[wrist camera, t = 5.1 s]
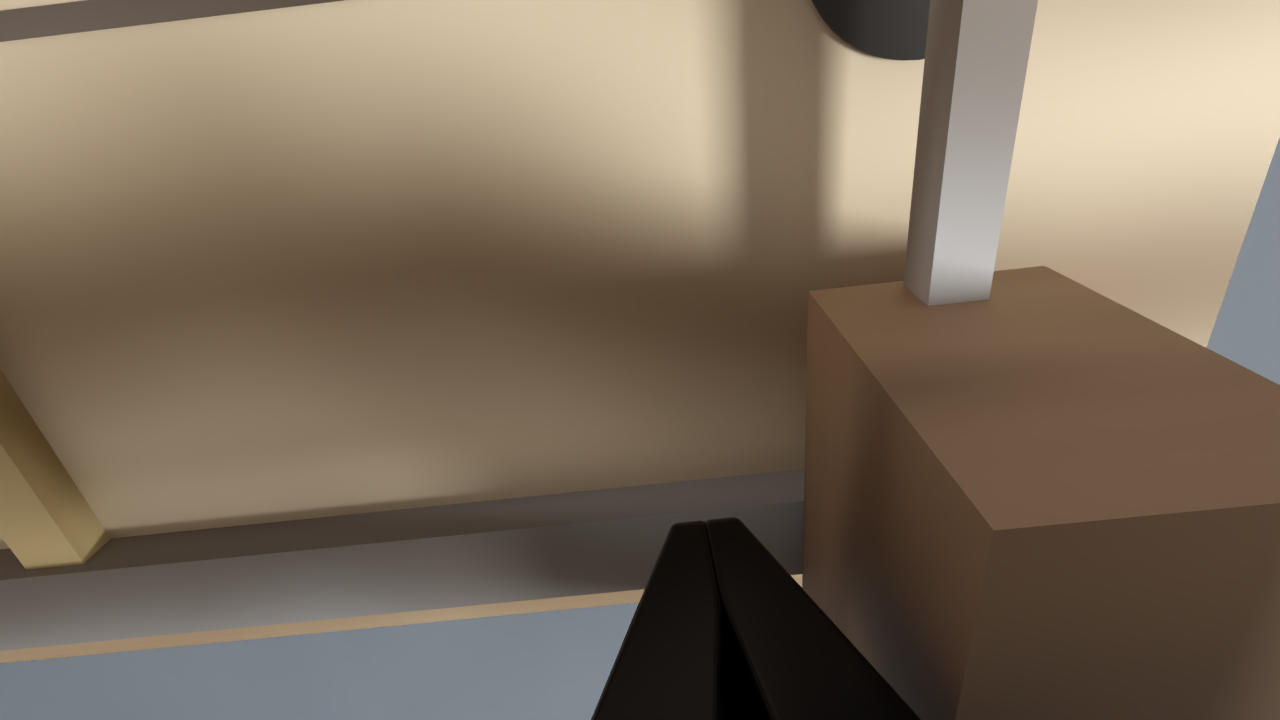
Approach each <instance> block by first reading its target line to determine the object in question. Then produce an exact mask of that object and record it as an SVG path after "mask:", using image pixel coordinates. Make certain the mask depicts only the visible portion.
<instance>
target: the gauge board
mask: <svg viewBox="0 0 1280 720" xmlns="http://www.w3.org/2000/svg"><path fill="white" fill-rule="evenodd" d="M929 8H930V0H0V663H8V662H18V661H28V660H39V659H49V658H60V657H70V656H81V655H91V654H102V653H112V652H123V651H133V650H144V649H154V648H165V647H175V646H186V645H196V644H207V643H217V642H228V641H238V640H249V639H259V638H270V637H280V636H291V635H301V634H312V633H322V632H333V631H343V630H354V629H364V628H375V627H385V626H396V625H406V624H417V623H427V622H438V621H448V620H459V619H469V618H480V617H490V616H501V615H511V614H522V613H532V612H543V611H553V610H564V609H574V608H585V607H595V606H606V605H616V604H627V603H637V602H640V600H641V597H642V595H643V592H644V590H645V587H646V585H647V583H648V580H649V578H650V575H651V573H652V570H653V568H654V565H655V563H656V561H657V558H658V556H659V553H660V551H661V548H662V546H663V544H664V541H665V539H666V536H667V534H668V531H669V529H670V527H671V526H672V525H673V524H674V523H678V522H688V521H697V520H702V521H704V522H705V521H707V520H709V519H717V518H727V517H736V518H738V519H740V520H741V521H742V522H743V523H744V524H745V525H746V527H747V528H748V529H749V530H750V531H751V532H752V533H753V534H754V535H755V536H756V538H757V539H758V540H759V541H760V542H761V543H762V544H763V545H764V546H765V548H766V549H767V550H768V551H769V552H770V553H771V554H772V555H773V556H774V557H775V559H776V560H777V561H778V562H779V563H780V564H781V565H782V566H783V567H784V568H785V570H786V571H787V572H788V573H789V574H790V575H791V576H792V577H793V578H794V580H795V581H796V582H797V583H798V584H799V585H800V586H801V587H802V572H803V524H804V476H805V428H806V380H807V333H808V291H813V290H822V289H832V288H841V287H850V286H860V285H869V284H878V283H888V282H897V281H904V272H905V261H906V251H907V240H908V230H909V219H910V208H911V198H912V187H913V177H914V166H915V156H916V145H917V135H918V124H919V113H920V103H921V92H922V82H923V71H924V61H925V50H926V40H927V29H928V18H929ZM1279 137H1280V0H1038V4H1037V10H1036V16H1035V22H1034V28H1033V34H1032V40H1031V47H1030V53H1029V59H1028V65H1027V71H1026V77H1025V83H1024V89H1023V96H1022V102H1021V108H1020V114H1019V120H1018V126H1017V132H1016V138H1015V144H1014V151H1013V157H1012V163H1011V169H1010V175H1009V181H1008V187H1007V193H1006V199H1005V206H1004V212H1003V218H1002V224H1001V230H1000V236H999V242H998V248H997V254H996V261H995V267H994V271H1000V270H1009V269H1019V268H1028V267H1037V266H1046V267H1048V268H1050V269H1052V270H1054V271H1056V272H1058V273H1060V274H1062V275H1064V276H1066V277H1068V278H1070V279H1072V280H1074V281H1076V282H1078V283H1080V284H1082V285H1084V286H1085V287H1087V288H1089V289H1091V290H1093V291H1095V292H1097V293H1099V294H1101V295H1103V296H1105V297H1107V298H1109V299H1111V300H1113V301H1115V302H1117V303H1119V304H1121V305H1123V306H1125V307H1127V308H1129V309H1131V310H1133V311H1135V312H1137V313H1139V314H1141V315H1142V316H1144V317H1146V318H1148V319H1150V320H1152V321H1154V322H1156V323H1158V324H1160V325H1162V326H1164V327H1166V328H1168V329H1170V330H1172V331H1174V332H1176V333H1178V334H1180V335H1182V336H1184V337H1186V338H1188V339H1190V340H1192V341H1194V342H1196V343H1198V344H1199V345H1201V346H1203V347H1205V348H1206V347H1207V344H1208V341H1209V338H1210V335H1211V333H1212V330H1213V327H1214V324H1215V321H1216V318H1217V315H1218V312H1219V310H1220V307H1221V304H1222V301H1223V298H1224V295H1225V292H1226V289H1227V287H1228V284H1229V281H1230V278H1231V275H1232V272H1233V269H1234V266H1235V264H1236V261H1237V258H1238V255H1239V252H1240V249H1241V246H1242V243H1243V241H1244V238H1245V235H1246V232H1247V229H1248V226H1249V223H1250V220H1251V218H1252V215H1253V212H1254V209H1255V206H1256V203H1257V200H1258V197H1259V195H1260V192H1261V189H1262V186H1263V183H1264V180H1265V177H1266V174H1267V172H1268V169H1269V166H1270V163H1271V160H1272V157H1273V154H1274V151H1275V149H1276V146H1277V143H1278V140H1279Z"/></svg>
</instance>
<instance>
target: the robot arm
mask: <svg viewBox="0 0 1280 720" xmlns="http://www.w3.org/2000/svg"><path fill="white" fill-rule="evenodd" d="M591 720H921V719H920V718H919V717H918V715H917V714H916V713H915V712H914V711H913V710H912V709H911V708H910V707H909V705H908V704H907V703H906V702H905V701H904V700H903V699H902V698H901V697H900V696H899V694H898V693H897V692H896V691H895V690H894V689H893V688H892V687H891V686H890V684H889V683H888V682H887V681H886V680H885V679H884V678H883V677H882V676H881V675H880V673H879V672H878V671H877V670H876V669H875V668H874V667H873V666H872V665H871V664H870V662H869V661H868V660H867V659H866V658H865V657H864V656H863V655H862V654H861V652H860V651H859V650H858V649H857V648H856V647H855V646H854V645H853V644H852V643H851V641H850V640H849V639H848V638H847V637H846V636H845V635H844V634H843V633H842V631H841V630H840V629H839V628H838V627H837V626H836V625H835V624H834V623H833V622H832V620H831V619H830V618H829V617H828V616H827V615H826V614H825V613H824V612H823V610H822V609H821V608H820V607H819V606H818V605H817V604H816V603H815V602H814V601H813V599H812V598H811V597H810V596H809V595H808V594H807V593H806V592H805V591H804V589H803V588H802V587H801V586H800V585H799V584H798V583H797V582H796V581H795V580H794V578H793V577H792V576H791V575H790V574H789V573H788V572H787V571H786V570H785V568H784V567H783V566H782V565H781V564H780V563H779V562H778V561H777V560H776V559H775V557H774V556H773V555H772V554H771V553H770V552H769V551H768V550H767V549H766V548H765V546H764V545H763V544H762V543H761V542H760V541H759V540H758V539H757V538H756V536H755V535H754V534H753V533H752V532H751V531H750V530H749V529H748V528H747V527H746V525H745V524H744V523H743V522H742V521H741V520H740V519H738V518H736V517H727V518H717V519H709V520H707V521H705V522H704V521H702V520H697V521H688V522H678V523H674V524H673V525H672V526H671V527H670V529H669V531H668V534H667V536H666V539H665V541H664V544H663V546H662V548H661V551H660V553H659V556H658V558H657V561H656V563H655V565H654V568H653V570H652V573H651V575H650V578H649V580H648V583H647V585H646V587H645V590H644V592H643V595H642V597H641V600H640V602H639V604H638V607H637V609H636V612H635V614H634V617H633V619H632V621H631V624H630V626H629V629H628V631H627V634H626V636H625V638H624V641H623V643H622V646H621V648H620V651H619V653H618V655H617V658H616V660H615V663H614V665H613V668H612V670H611V672H610V675H609V677H608V680H607V682H606V685H605V687H604V689H603V692H602V694H601V697H600V699H599V702H598V704H597V706H596V709H595V711H594V714H593V716H592V719H591Z"/></svg>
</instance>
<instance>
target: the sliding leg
mask: <svg viewBox="0 0 1280 720" xmlns="http://www.w3.org/2000/svg"><path fill="white" fill-rule="evenodd" d="M1037 4H1038V0H930V8H929V18H928V29H927V40H926V50H925V61H924V71H923V82H922V92H921V103H920V113H919V124H918V135H917V145H916V156H915V166H914V177H913V187H912V198H911V208H910V219H909V230H908V240H907V251H906V261H905V272H904V281H897V282H888V283H878V284H869V285H860V286H850V287H841V288H832V289H822V290H813V291H808V333H807V380H806V428H805V476H804V524H803V572H802V588H803V589H804V591H805V592H806V593H807V594H808V595H809V596H810V597H811V598H812V599H813V601H814V602H815V603H816V604H817V605H818V606H819V607H820V608H821V609H822V610H823V612H824V613H825V614H826V615H827V616H828V617H829V618H830V619H831V620H832V622H833V623H834V624H835V625H836V626H837V627H838V628H839V629H840V630H841V631H842V633H843V634H844V635H845V636H846V637H847V638H848V639H849V640H850V641H851V643H852V644H853V645H854V646H855V647H856V648H857V649H858V650H859V651H860V652H861V654H862V655H863V656H864V657H865V658H866V659H867V660H868V661H869V662H870V664H871V665H872V666H873V667H874V668H875V669H876V670H877V671H878V672H879V673H880V675H881V676H882V677H883V678H884V679H885V680H886V681H887V682H888V683H889V684H890V686H891V687H892V688H893V689H894V690H895V691H896V692H897V693H898V694H899V696H900V697H901V698H902V699H903V700H904V701H905V702H906V703H907V704H908V705H909V707H910V708H911V709H912V710H913V711H914V712H915V713H916V714H917V715H918V717H919V718H920V719H921V720H1280V385H1278V384H1276V383H1274V382H1272V381H1270V380H1268V379H1266V378H1264V377H1262V376H1260V375H1258V374H1256V373H1255V372H1253V371H1251V370H1249V369H1247V368H1245V367H1243V366H1241V365H1239V364H1237V363H1235V362H1233V361H1231V360H1229V359H1227V358H1225V357H1223V356H1221V355H1219V354H1217V353H1215V352H1213V351H1211V350H1209V349H1207V348H1205V347H1203V346H1201V345H1199V344H1198V343H1196V342H1194V341H1192V340H1190V339H1188V338H1186V337H1184V336H1182V335H1180V334H1178V333H1176V332H1174V331H1172V330H1170V329H1168V328H1166V327H1164V326H1162V325H1160V324H1158V323H1156V322H1154V321H1152V320H1150V319H1148V318H1146V317H1144V316H1142V315H1141V314H1139V313H1137V312H1135V311H1133V310H1131V309H1129V308H1127V307H1125V306H1123V305H1121V304H1119V303H1117V302H1115V301H1113V300H1111V299H1109V298H1107V297H1105V296H1103V295H1101V294H1099V293H1097V292H1095V291H1093V290H1091V289H1089V288H1087V287H1085V286H1084V285H1082V284H1080V283H1078V282H1076V281H1074V280H1072V279H1070V278H1068V277H1066V276H1064V275H1062V274H1060V273H1058V272H1056V271H1054V270H1052V269H1050V268H1048V267H1046V266H1037V267H1028V268H1019V269H1009V270H1000V271H994V267H995V261H996V254H997V248H998V242H999V236H1000V230H1001V224H1002V218H1003V212H1004V206H1005V199H1006V193H1007V187H1008V181H1009V175H1010V169H1011V163H1012V157H1013V151H1014V144H1015V138H1016V132H1017V126H1018V120H1019V114H1020V108H1021V102H1022V96H1023V89H1024V83H1025V77H1026V71H1027V65H1028V59H1029V53H1030V47H1031V40H1032V34H1033V28H1034V22H1035V16H1036V10H1037Z"/></svg>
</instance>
